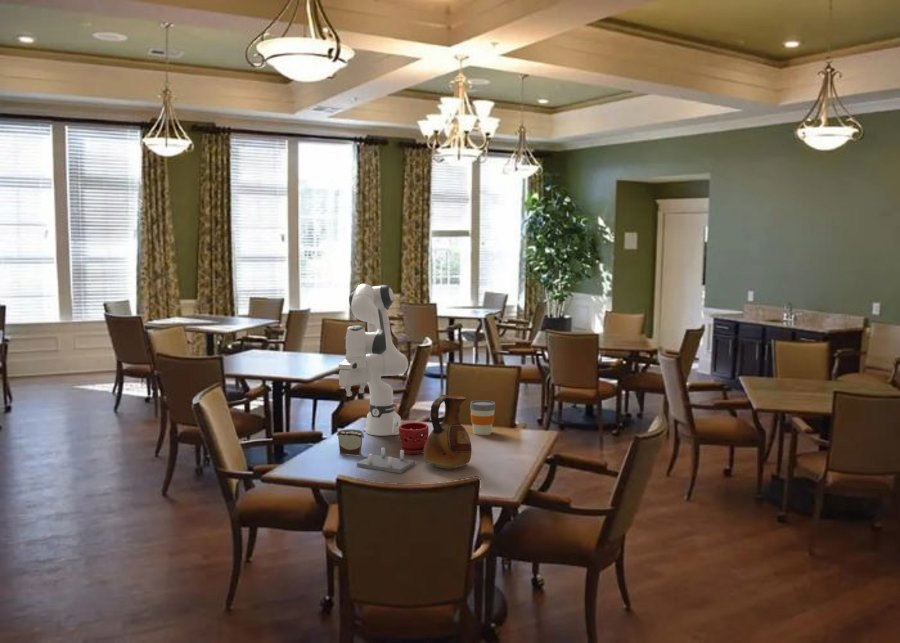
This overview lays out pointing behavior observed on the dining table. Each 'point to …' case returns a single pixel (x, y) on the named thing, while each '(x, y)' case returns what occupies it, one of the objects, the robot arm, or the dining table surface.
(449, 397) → the ceramic pitcher
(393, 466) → the pin tray
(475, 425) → the reusable coffee cup
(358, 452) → the food container
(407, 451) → the plant pot
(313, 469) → the dining table surface
